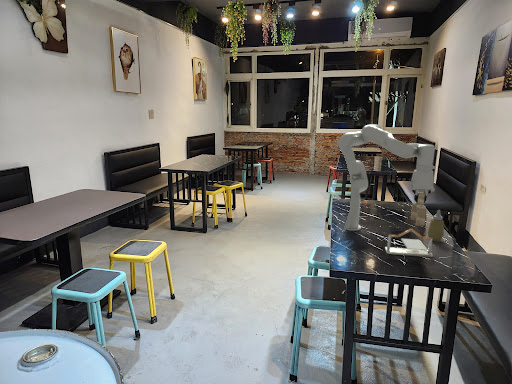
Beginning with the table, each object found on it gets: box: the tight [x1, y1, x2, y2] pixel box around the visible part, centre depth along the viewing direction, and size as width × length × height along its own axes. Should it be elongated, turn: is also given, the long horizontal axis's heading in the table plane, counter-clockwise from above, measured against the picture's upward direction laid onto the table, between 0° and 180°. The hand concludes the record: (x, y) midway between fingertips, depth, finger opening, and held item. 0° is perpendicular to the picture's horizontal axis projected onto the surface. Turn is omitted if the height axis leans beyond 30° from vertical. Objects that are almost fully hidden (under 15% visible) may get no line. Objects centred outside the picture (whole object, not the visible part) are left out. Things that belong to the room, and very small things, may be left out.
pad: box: [400, 238, 428, 250], centre depth 181 cm, size 14×10×1 cm
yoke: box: [410, 191, 427, 227], centre depth 176 cm, size 11×4×17 cm, turn 170°
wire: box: [384, 228, 434, 258], centre depth 169 cm, size 6×22×14 cm, turn 80°
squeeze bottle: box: [427, 209, 445, 242], centre depth 186 cm, size 8×8×18 cm
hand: (419, 201), depth 175 cm, fingers closed on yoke, 3 cm apart
